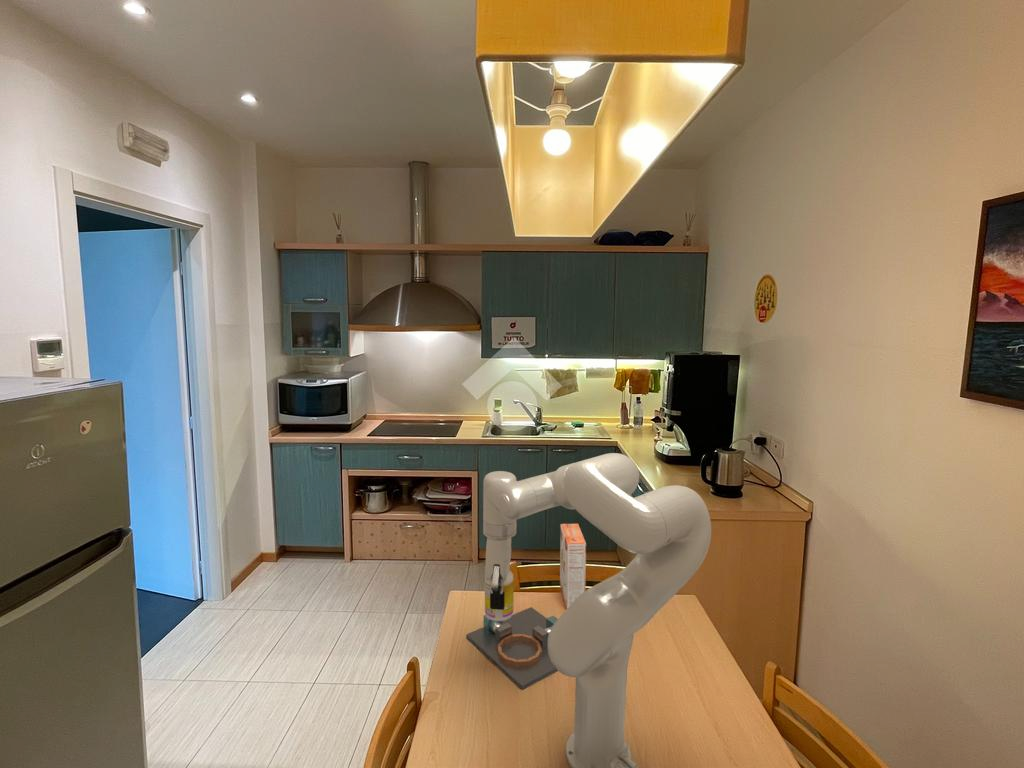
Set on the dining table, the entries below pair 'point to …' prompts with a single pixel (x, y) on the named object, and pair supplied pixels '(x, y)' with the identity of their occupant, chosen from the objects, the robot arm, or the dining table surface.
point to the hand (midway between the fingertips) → (499, 599)
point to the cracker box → (572, 562)
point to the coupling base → (517, 646)
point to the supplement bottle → (509, 600)
